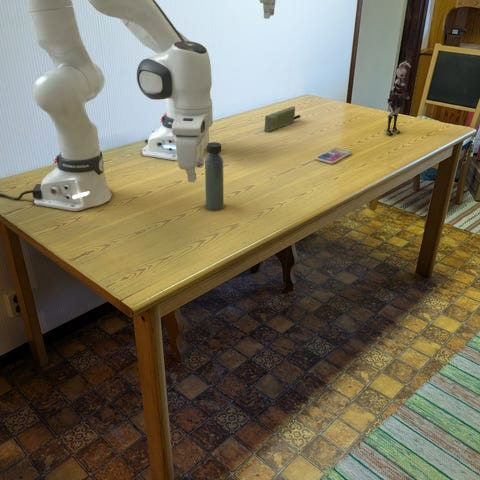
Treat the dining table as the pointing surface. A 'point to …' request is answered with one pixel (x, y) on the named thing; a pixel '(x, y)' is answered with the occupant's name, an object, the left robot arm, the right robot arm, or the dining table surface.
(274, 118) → the handheld radio
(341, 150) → the smartphone
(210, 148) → the cap
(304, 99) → the dining table surface
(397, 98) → the figurine
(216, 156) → the bottle
